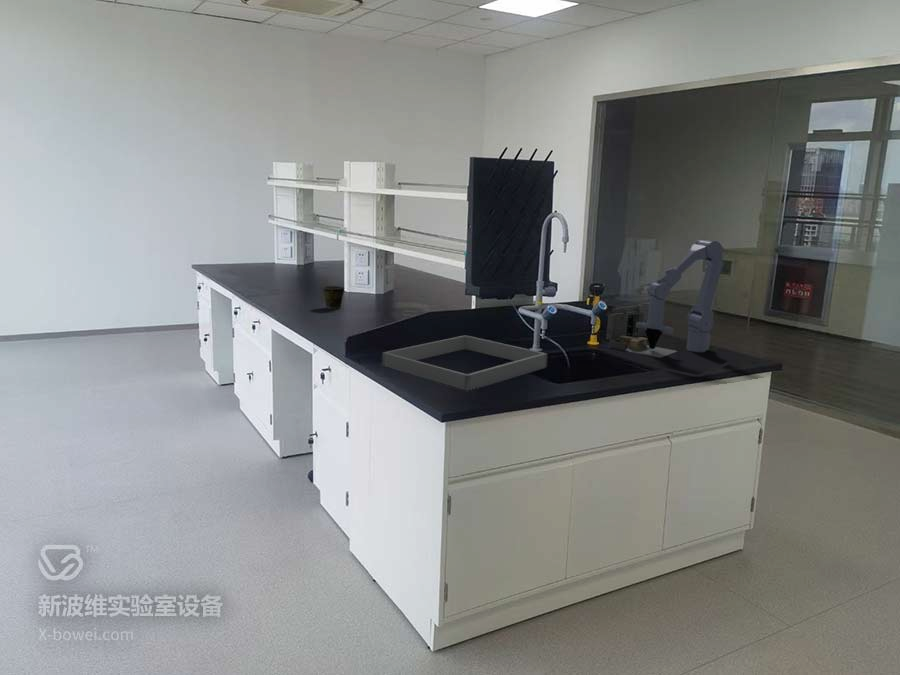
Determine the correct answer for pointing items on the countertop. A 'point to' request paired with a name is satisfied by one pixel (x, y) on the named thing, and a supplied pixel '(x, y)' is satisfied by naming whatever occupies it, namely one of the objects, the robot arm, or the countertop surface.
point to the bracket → (618, 344)
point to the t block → (634, 342)
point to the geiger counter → (625, 322)
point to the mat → (652, 351)
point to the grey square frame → (407, 363)
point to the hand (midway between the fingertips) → (652, 348)
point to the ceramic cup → (333, 296)
